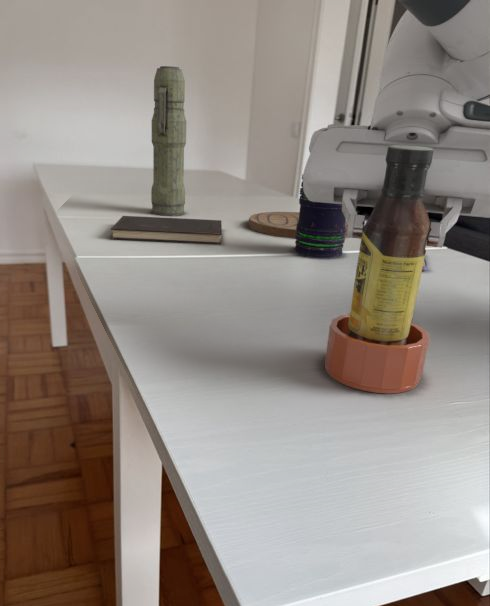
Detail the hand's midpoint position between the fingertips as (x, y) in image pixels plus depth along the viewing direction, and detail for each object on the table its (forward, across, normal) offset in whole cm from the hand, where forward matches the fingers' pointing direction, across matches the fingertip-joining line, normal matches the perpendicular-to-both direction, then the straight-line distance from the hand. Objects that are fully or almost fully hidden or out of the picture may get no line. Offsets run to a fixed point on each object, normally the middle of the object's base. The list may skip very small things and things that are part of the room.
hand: (394, 239), depth 53 cm
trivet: (-46, -22, +67) cm, 84 cm away
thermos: (-48, -58, +69) cm, 102 cm away
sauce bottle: (+8, 0, +9) cm, 12 cm away
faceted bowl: (+10, 0, +11) cm, 15 cm away
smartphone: (-30, +4, +51) cm, 59 cm away
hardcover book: (-30, -47, +51) cm, 75 cm away
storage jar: (-29, -13, +50) cm, 59 cm away
